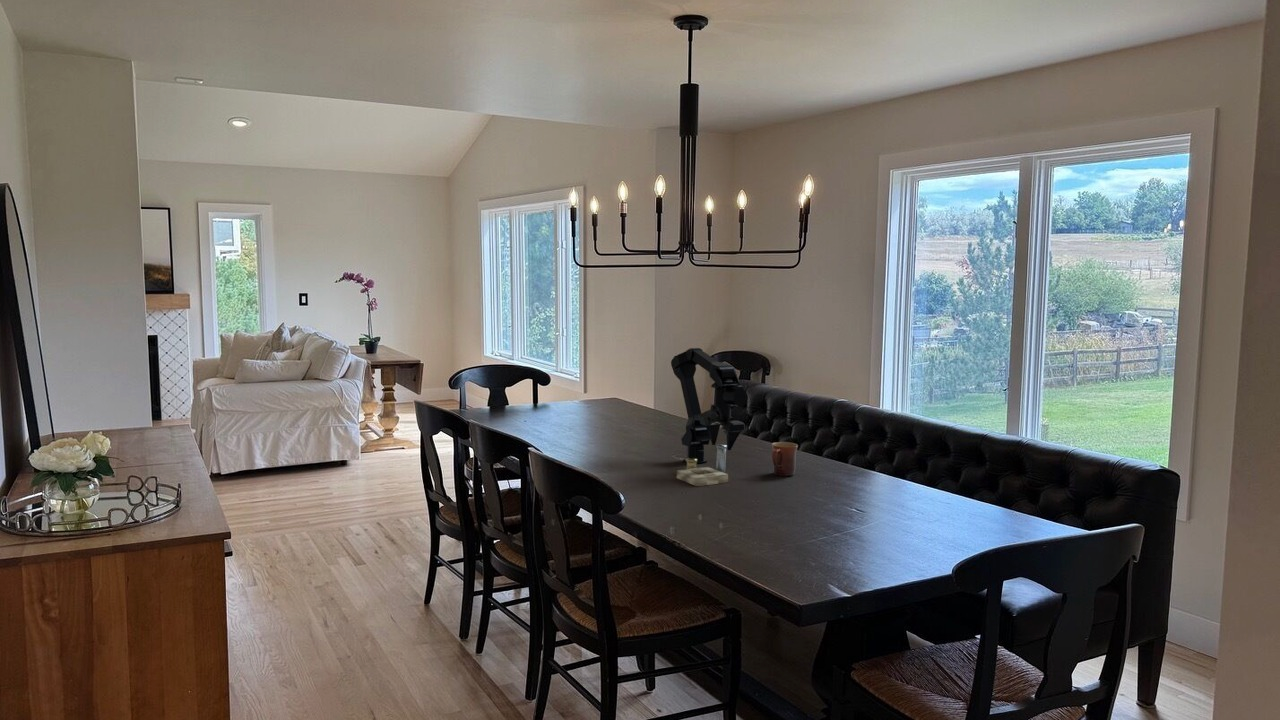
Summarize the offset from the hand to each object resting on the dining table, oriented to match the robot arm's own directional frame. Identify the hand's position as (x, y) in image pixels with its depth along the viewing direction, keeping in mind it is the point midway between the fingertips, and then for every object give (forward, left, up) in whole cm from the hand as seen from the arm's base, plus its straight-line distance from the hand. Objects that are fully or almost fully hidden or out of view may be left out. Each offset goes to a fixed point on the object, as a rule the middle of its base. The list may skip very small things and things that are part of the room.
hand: (721, 447), depth 297 cm
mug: (+14, +15, -8) cm, 22 cm away
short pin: (-3, -10, -8) cm, 13 cm away
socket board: (+8, -13, -8) cm, 17 cm away
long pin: (0, 0, -8) cm, 8 cm away
